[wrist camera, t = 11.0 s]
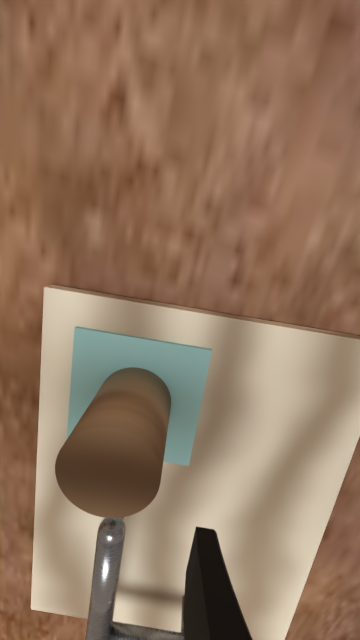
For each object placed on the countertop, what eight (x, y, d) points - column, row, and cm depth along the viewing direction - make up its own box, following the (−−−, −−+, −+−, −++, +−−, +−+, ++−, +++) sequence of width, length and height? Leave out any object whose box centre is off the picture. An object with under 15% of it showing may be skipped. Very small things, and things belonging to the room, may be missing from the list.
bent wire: (224, 496, 20) (231, 554, 16) (197, 607, 23) (197, 678, 19) (112, 478, 20) (94, 531, 16) (99, 591, 23) (81, 658, 19)
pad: (211, 348, 17) (212, 350, 17) (188, 462, 19) (188, 465, 19) (76, 326, 17) (74, 327, 17) (68, 442, 19) (66, 445, 19)
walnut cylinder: (165, 437, 19) (153, 525, 13) (96, 426, 19) (52, 509, 13) (176, 373, 18) (168, 437, 12) (102, 361, 18) (57, 420, 12)
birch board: (382, 339, 18) (393, 345, 17) (276, 635, 24) (280, 651, 24) (52, 284, 18) (44, 286, 17) (37, 594, 25) (30, 609, 24)
